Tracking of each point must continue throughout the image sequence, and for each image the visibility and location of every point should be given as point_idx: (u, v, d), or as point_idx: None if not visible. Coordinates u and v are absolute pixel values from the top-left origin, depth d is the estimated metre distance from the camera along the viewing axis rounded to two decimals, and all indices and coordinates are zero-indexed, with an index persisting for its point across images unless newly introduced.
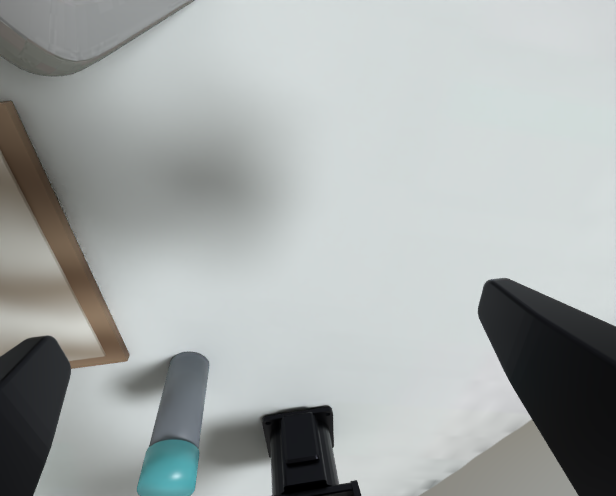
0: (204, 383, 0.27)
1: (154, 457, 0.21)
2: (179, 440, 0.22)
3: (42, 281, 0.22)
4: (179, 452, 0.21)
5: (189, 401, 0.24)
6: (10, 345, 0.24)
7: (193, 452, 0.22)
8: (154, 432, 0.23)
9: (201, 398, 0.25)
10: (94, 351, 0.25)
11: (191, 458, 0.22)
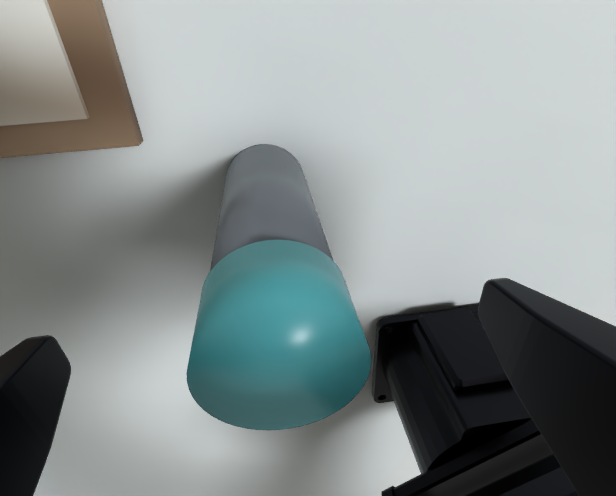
0: None
1: (240, 274, 0.06)
2: (305, 247, 0.07)
3: None
4: (316, 267, 0.07)
5: (299, 197, 0.10)
6: None
7: (345, 284, 0.07)
8: (221, 244, 0.08)
9: None
10: (62, 99, 0.11)
11: (347, 293, 0.07)
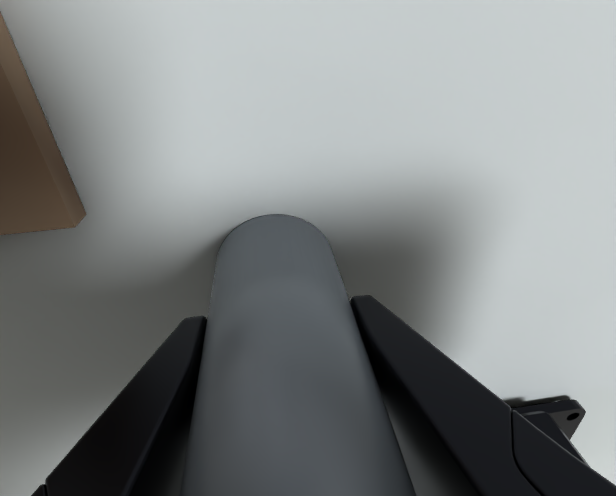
0: (350, 305, 0.07)
1: None
2: None
3: None
4: None
5: (346, 359, 0.05)
6: None
7: None
8: None
9: (367, 354, 0.06)
10: None
11: None
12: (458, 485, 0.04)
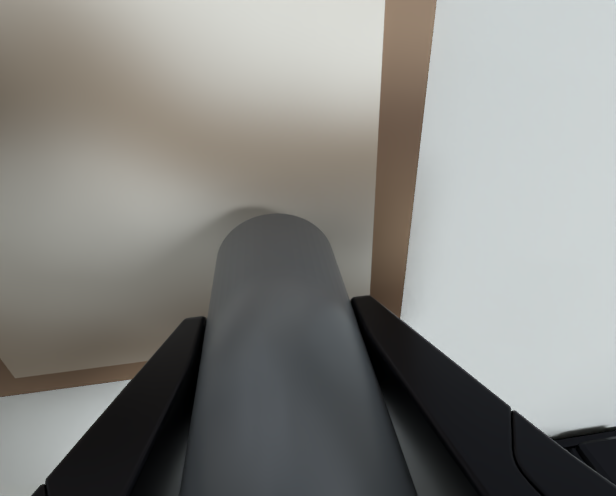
0: (351, 305, 0.07)
1: None
2: None
3: (327, 130, 0.09)
4: None
5: (347, 358, 0.05)
6: (197, 303, 0.11)
7: None
8: None
9: None
10: None
11: None
12: (458, 485, 0.04)
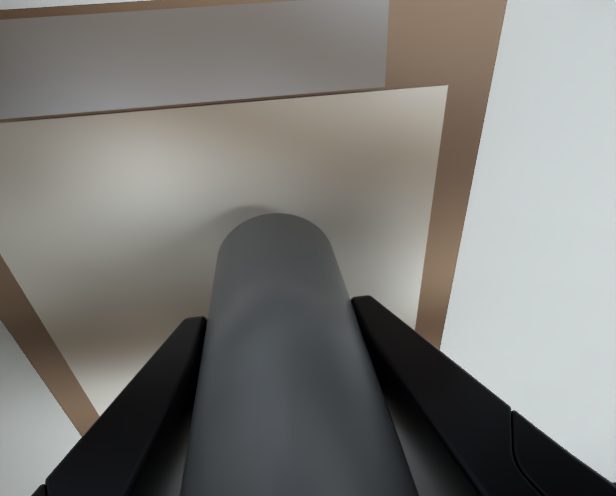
0: None
1: None
2: None
3: None
4: None
5: (348, 359, 0.05)
6: None
7: None
8: None
9: None
10: None
11: None
12: (458, 485, 0.04)
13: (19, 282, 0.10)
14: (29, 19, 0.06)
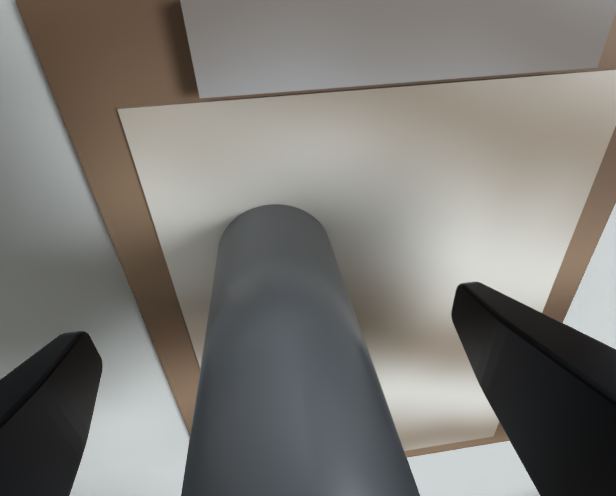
0: None
1: None
2: None
3: None
4: None
5: (341, 334, 0.06)
6: None
7: None
8: (198, 484, 0.04)
9: None
10: (485, 430, 0.16)
11: None
12: None
13: (171, 271, 0.10)
14: None
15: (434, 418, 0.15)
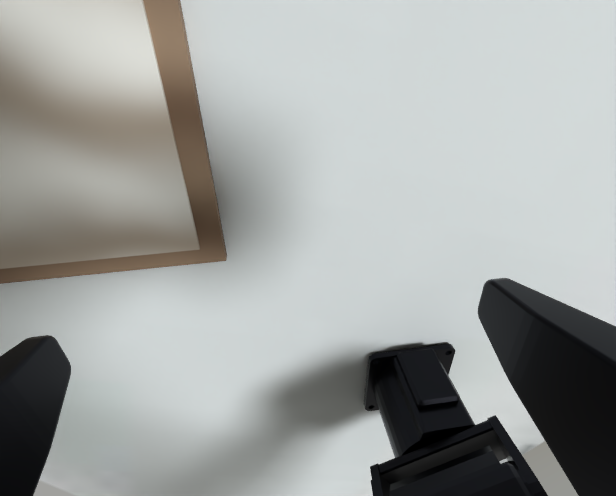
0: None
1: None
2: None
3: (135, 111, 0.15)
4: None
5: None
6: (74, 223, 0.17)
7: None
8: None
9: None
10: (187, 240, 0.18)
11: None
12: None
13: None
14: None
15: (125, 218, 0.17)
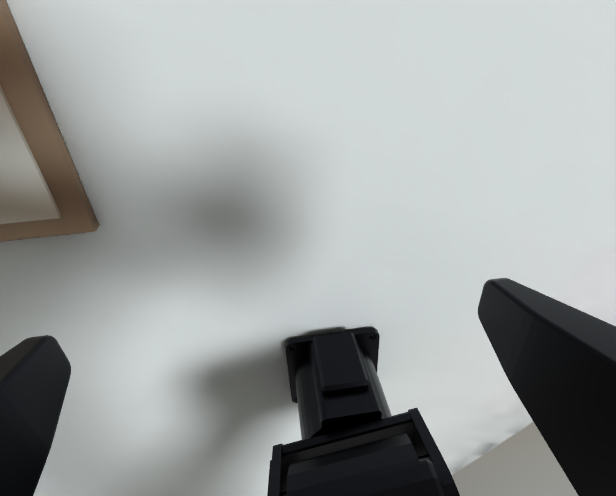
0: None
1: None
2: None
3: None
4: None
5: None
6: None
7: None
8: None
9: None
10: (43, 207, 0.17)
11: None
12: None
13: None
14: None
15: None
